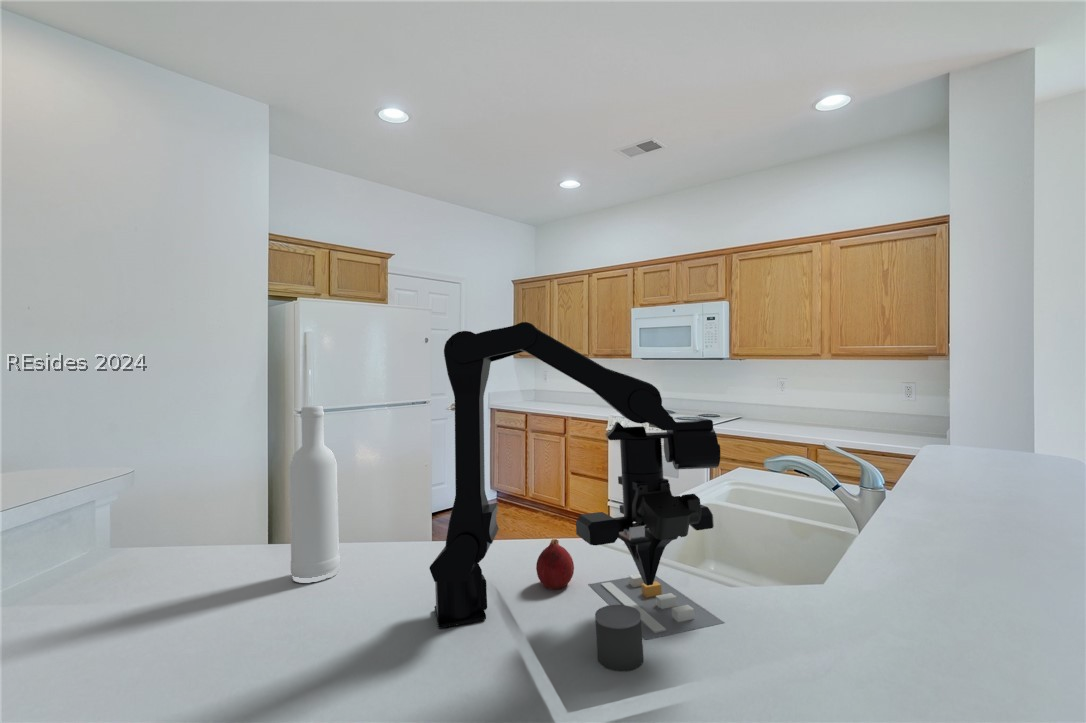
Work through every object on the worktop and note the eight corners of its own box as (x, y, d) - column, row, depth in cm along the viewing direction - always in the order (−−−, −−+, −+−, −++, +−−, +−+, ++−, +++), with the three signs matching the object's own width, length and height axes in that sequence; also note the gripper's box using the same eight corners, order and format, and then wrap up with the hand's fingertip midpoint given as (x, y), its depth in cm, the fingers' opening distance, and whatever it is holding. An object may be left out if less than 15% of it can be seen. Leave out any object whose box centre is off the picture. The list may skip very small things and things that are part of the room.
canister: (608, 686, 52) (604, 628, 52) (592, 662, 57) (588, 608, 57) (652, 677, 53) (648, 620, 53) (632, 654, 58) (629, 601, 58)
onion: (572, 601, 73) (569, 545, 73) (533, 599, 74) (531, 544, 74) (577, 585, 78) (574, 534, 79) (541, 584, 80) (539, 533, 80)
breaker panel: (646, 650, 58) (645, 629, 59) (588, 592, 76) (587, 576, 76) (725, 632, 62) (724, 612, 62) (652, 580, 79) (651, 565, 79)
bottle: (307, 587, 83) (304, 407, 84) (281, 579, 87) (278, 408, 88) (349, 571, 89) (345, 404, 91) (322, 565, 94) (319, 405, 95)
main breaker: (646, 597, 70) (646, 587, 70) (642, 593, 71) (641, 583, 71) (661, 594, 71) (661, 584, 71) (656, 590, 72) (656, 581, 72)
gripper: (604, 487, 59) (611, 622, 58) (736, 473, 65) (744, 595, 64) (572, 473, 70) (577, 587, 69) (687, 462, 75) (693, 567, 75)
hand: (648, 584), depth 69 cm, fingers closed
